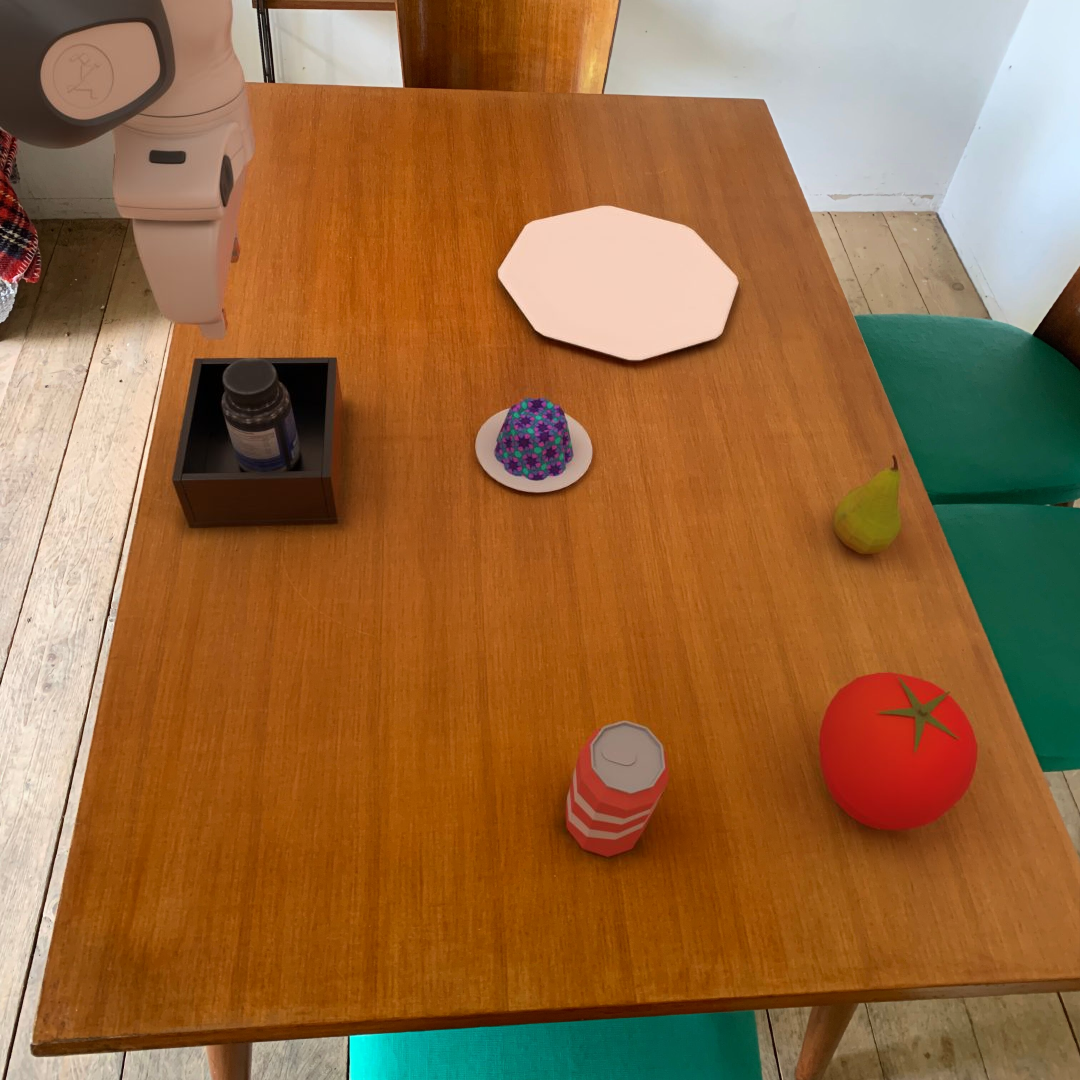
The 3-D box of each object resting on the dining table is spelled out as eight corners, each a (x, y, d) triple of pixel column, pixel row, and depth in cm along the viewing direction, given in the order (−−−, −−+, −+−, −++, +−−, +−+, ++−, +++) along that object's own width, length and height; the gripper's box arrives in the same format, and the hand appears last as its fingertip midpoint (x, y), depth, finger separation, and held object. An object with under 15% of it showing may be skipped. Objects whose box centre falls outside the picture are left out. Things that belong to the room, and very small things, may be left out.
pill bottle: (269, 426, 93) (251, 342, 84) (314, 454, 91) (300, 371, 82) (223, 461, 89) (198, 377, 80) (269, 492, 87) (248, 409, 79)
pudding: (508, 395, 99) (510, 358, 95) (609, 436, 96) (617, 400, 92) (453, 468, 92) (453, 432, 88) (561, 514, 90) (566, 479, 85)
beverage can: (575, 771, 74) (593, 703, 64) (651, 795, 73) (682, 730, 64) (554, 842, 70) (570, 782, 61) (634, 869, 70) (664, 812, 60)
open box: (189, 527, 85) (171, 480, 80) (208, 407, 94) (194, 357, 89) (338, 523, 87) (330, 476, 81) (343, 406, 96) (336, 356, 91)
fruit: (897, 563, 89) (950, 483, 80) (837, 568, 88) (884, 488, 79) (872, 511, 93) (920, 429, 83) (815, 516, 92) (857, 434, 82)
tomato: (950, 850, 72) (1031, 787, 62) (817, 857, 71) (879, 795, 61) (904, 718, 79) (971, 643, 69) (783, 723, 78) (833, 647, 68)
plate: (703, 390, 102) (706, 380, 100) (470, 323, 105) (471, 313, 104) (749, 252, 118) (752, 242, 117) (546, 198, 122) (547, 188, 120)
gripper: (159, 50, 68) (198, 216, 78) (106, 211, 55) (161, 381, 66) (248, 53, 68) (274, 218, 79) (215, 213, 56) (251, 381, 67)
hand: (222, 293), depth 73 cm, fingers open, 8 cm apart
